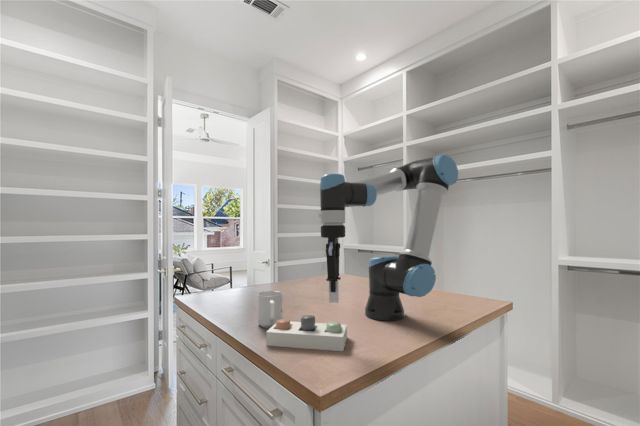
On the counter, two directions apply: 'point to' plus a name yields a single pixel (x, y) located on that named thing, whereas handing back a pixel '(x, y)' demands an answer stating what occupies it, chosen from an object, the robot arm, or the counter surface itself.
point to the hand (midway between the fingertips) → (333, 301)
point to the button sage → (333, 327)
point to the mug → (270, 308)
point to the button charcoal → (308, 323)
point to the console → (307, 337)
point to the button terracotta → (283, 324)
